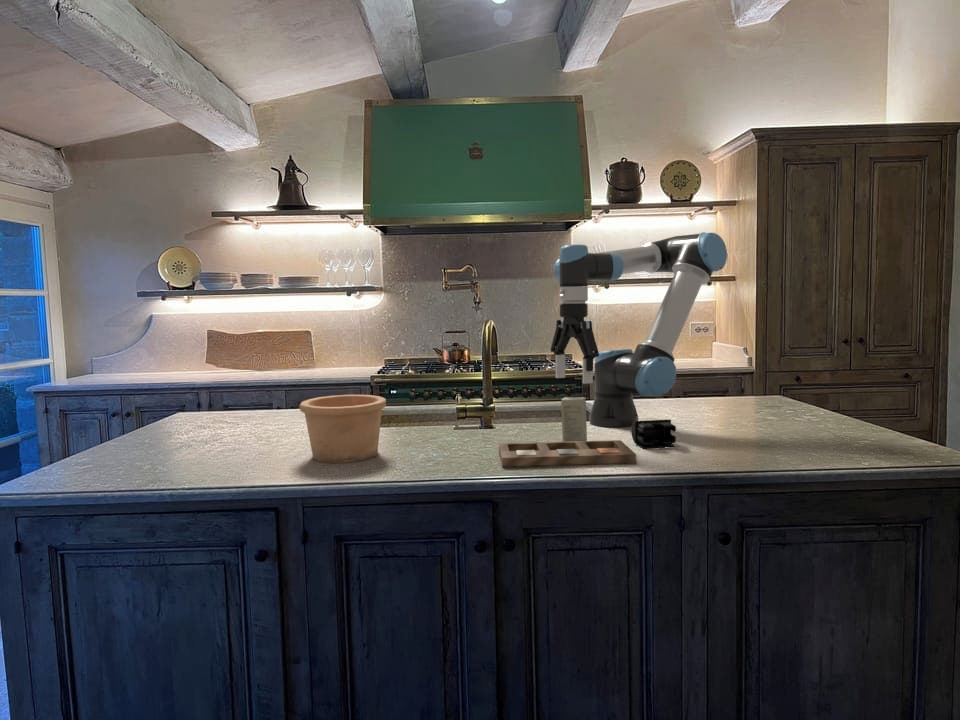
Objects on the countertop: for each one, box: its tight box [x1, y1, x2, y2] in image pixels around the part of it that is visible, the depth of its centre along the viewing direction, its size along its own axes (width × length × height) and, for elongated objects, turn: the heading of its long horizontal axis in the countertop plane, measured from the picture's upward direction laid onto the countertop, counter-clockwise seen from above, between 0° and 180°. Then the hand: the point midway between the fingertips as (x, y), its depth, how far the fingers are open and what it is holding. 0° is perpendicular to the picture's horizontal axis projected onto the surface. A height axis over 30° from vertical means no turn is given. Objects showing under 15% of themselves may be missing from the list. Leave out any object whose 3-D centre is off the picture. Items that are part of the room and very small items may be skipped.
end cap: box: [631, 419, 677, 450], centre depth 171 cm, size 10×7×7 cm
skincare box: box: [560, 396, 588, 442], centre depth 177 cm, size 6×4×12 cm
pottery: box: [299, 394, 387, 464], centre depth 167 cm, size 22×22×14 cm
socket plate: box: [498, 439, 637, 469], centre depth 160 cm, size 32×15×3 cm, turn 92°
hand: (573, 380), depth 176 cm, fingers open, 13 cm apart
